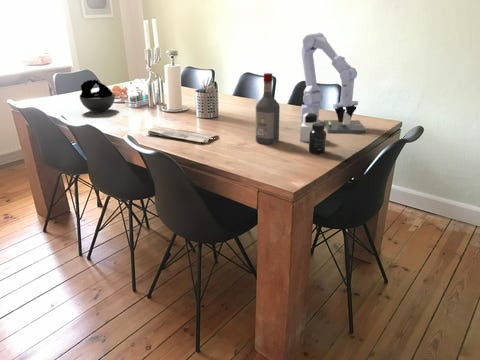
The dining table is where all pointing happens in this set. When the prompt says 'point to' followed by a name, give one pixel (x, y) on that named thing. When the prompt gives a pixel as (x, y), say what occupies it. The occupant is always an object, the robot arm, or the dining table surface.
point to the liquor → (267, 115)
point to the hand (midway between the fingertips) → (344, 121)
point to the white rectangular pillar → (346, 119)
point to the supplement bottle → (317, 139)
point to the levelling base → (344, 127)
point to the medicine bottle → (307, 126)
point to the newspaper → (181, 134)
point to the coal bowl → (96, 96)
